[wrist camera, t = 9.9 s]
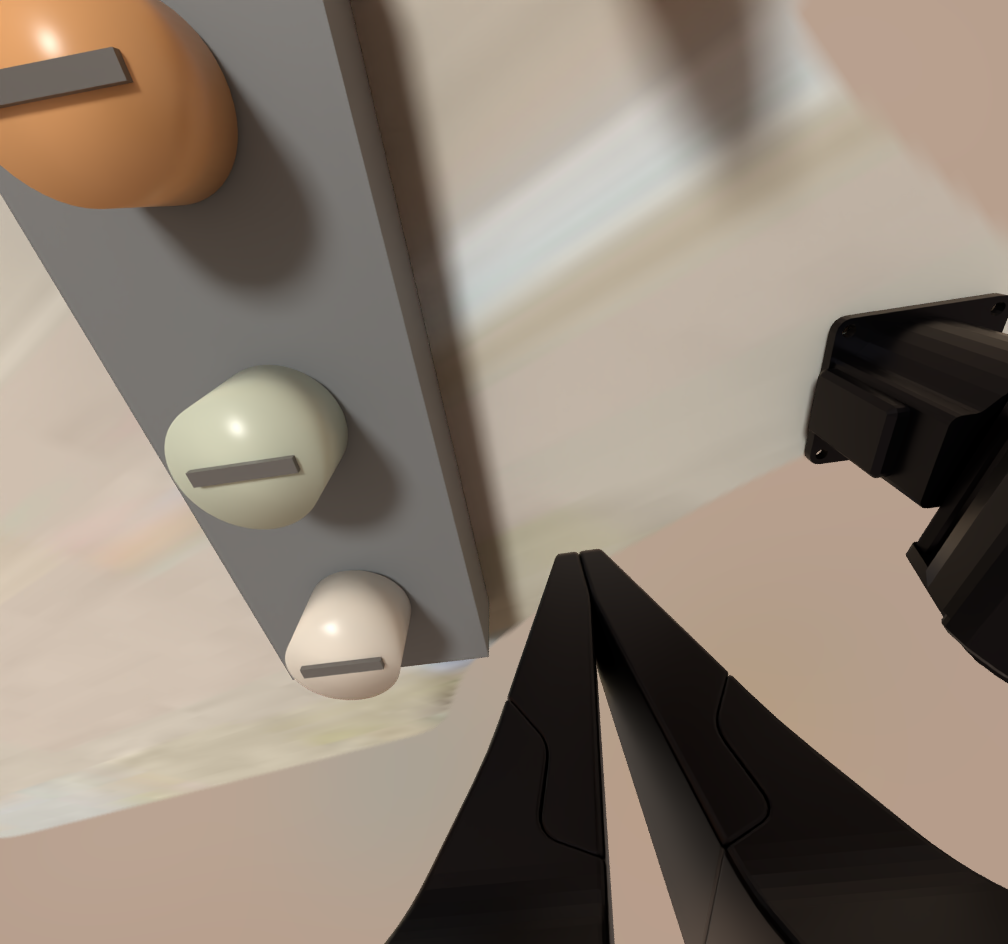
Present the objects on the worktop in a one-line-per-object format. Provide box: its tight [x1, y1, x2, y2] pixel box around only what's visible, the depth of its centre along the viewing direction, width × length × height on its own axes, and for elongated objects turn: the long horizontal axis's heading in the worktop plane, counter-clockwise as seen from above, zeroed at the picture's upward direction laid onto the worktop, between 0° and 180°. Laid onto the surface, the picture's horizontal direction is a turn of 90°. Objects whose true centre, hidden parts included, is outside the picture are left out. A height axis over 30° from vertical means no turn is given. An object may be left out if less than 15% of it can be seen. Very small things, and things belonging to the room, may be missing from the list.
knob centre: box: [164, 365, 348, 529], centre depth 17 cm, size 4×4×7 cm
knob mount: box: [0, 0, 489, 680], centre depth 18 cm, size 10×27×4 cm, turn 8°
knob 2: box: [285, 570, 411, 700], centre depth 21 cm, size 4×4×7 cm
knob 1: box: [0, 0, 238, 209], centre depth 12 cm, size 4×4×7 cm
